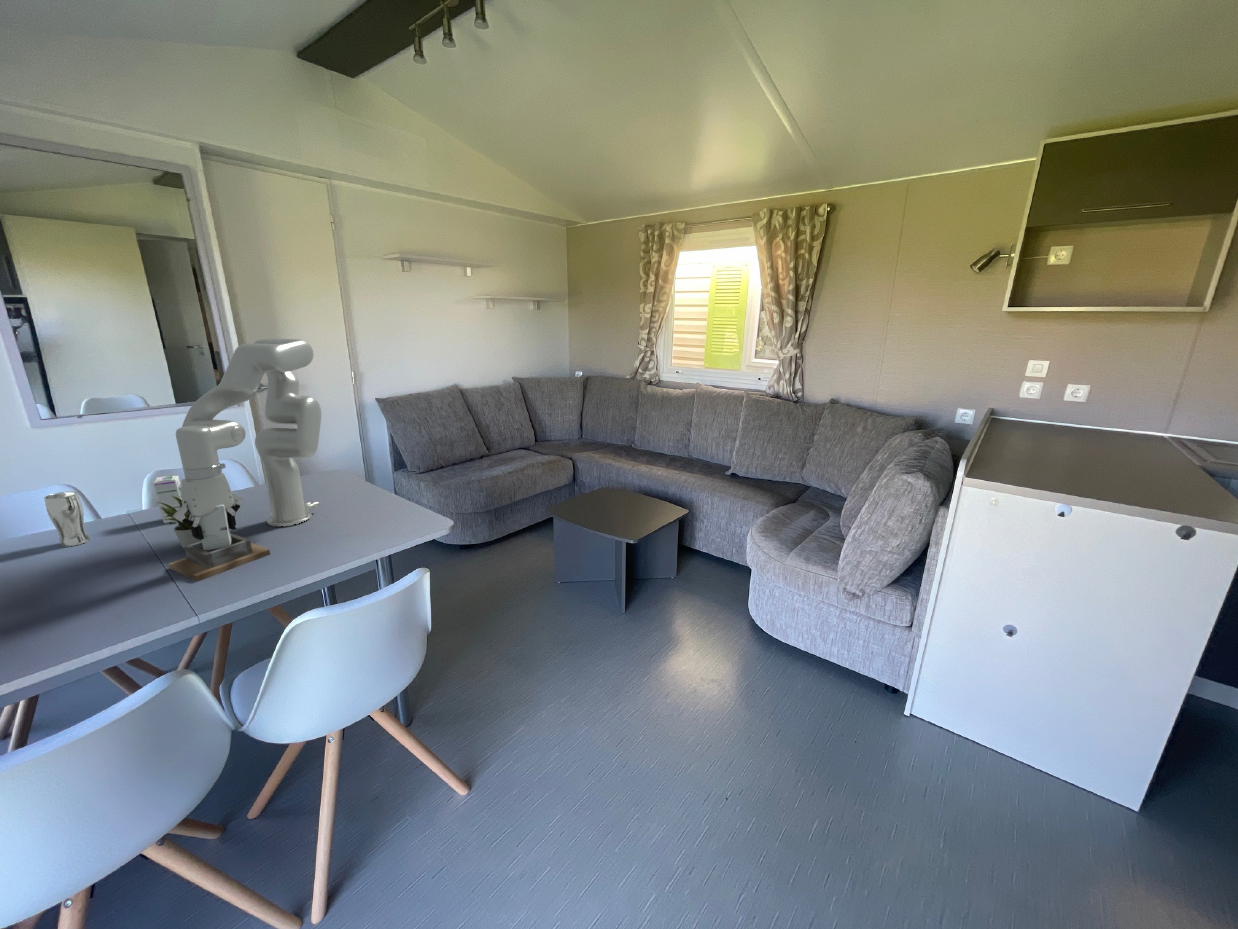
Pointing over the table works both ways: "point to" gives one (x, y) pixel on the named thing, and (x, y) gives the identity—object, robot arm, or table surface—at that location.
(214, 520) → the skincare box
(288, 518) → the robot arm
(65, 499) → the beer glass
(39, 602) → the table surface
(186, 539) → the house plant
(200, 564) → the socket
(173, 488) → the syrup box
